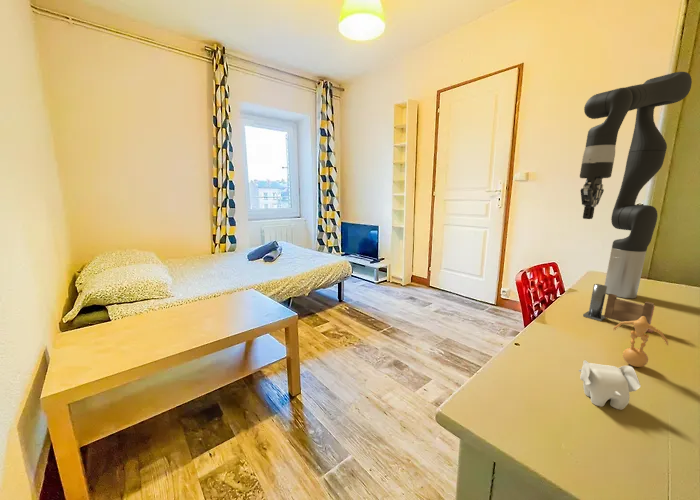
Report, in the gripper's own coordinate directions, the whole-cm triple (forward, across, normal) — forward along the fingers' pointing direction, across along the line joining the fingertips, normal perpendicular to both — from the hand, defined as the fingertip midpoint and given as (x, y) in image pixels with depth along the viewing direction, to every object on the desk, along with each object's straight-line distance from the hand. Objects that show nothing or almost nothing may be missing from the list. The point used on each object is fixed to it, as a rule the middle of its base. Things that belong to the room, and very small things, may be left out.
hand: (587, 218), depth 92 cm
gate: (+28, +6, +14) cm, 32 cm away
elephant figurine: (+29, +50, +20) cm, 61 cm away
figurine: (+29, +32, +21) cm, 48 cm away
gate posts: (+29, +5, +13) cm, 32 cm away
